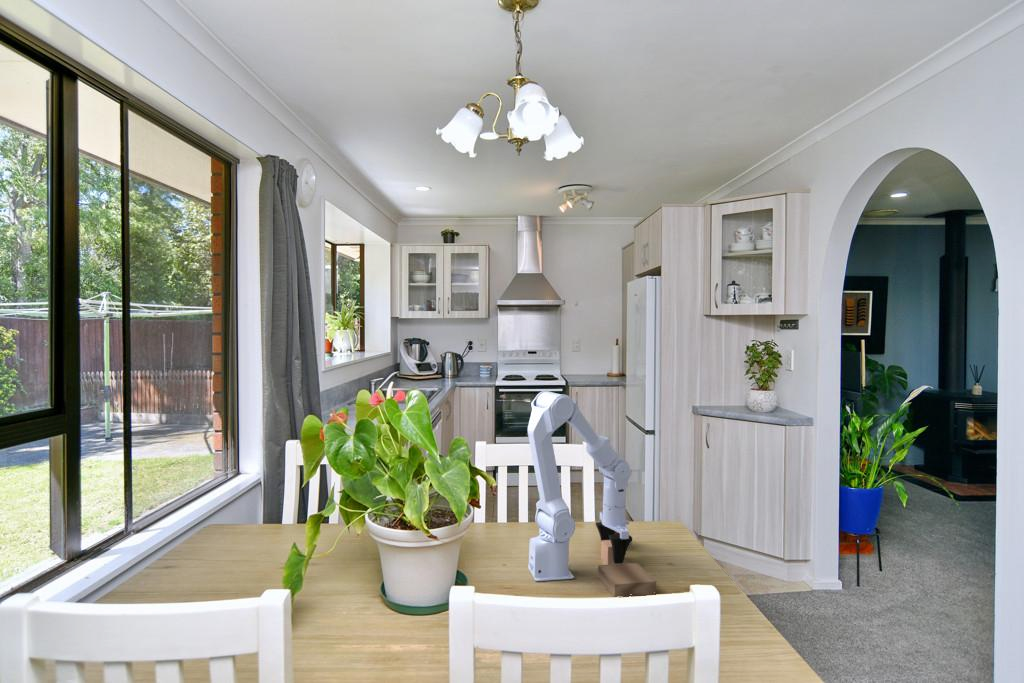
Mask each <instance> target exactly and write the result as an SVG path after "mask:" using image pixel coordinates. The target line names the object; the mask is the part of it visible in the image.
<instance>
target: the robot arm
mask: <svg viewBox="0 0 1024 683" xmlns="http://www.w3.org/2000/svg"><path fill="white" fill-rule="evenodd" d="M530 405H531V406H530V407H531V413H530V417H529V421H528V425H527V436H528V442H529V447H530V452H531V458H532V463H533V468H534V474H535V479H536V485H537V490H538V497H539V500H538V501H537V502H536V503H535V506H536V512H535V514H534V515H535V518H534V520H535V521H534V522H535V524H536V525H537V528H539V531H538V532H539V535H537V536H534V537H530V539H529V546H528V565H527V568H528V571H529V572H530V574H531V575H532V577H533V579H534V581H536V582H543V581H544V582H545V581H559V580H571V579H574V578H575V576H574V575H573V573H572V572H571V570H570V569H569V560H570V558H569V557H570V556H569V554H570V541H571V538H572V537H573V535H574V533H575V531H576V522H575V520H574V518H573V516H571V512H570V508H569V507H568V505H567V503H566V502H565V499H563V495H562V489H561V484H560V483H561V482H560V477H559V471H558V467H557V461H556V456H555V450H554V444H553V438H552V435H553V434H554V432H555V431H556V430H557V429H559V428H560V427H561V426H563V425H564V424H565V423H568V425H570V427H571V428H572V429H573V430H574V431H575V432H576V434H578V436H580V438H581V440H583V441H584V442H585V444H586V445H585V450H586V452H587V453H588V455H589V456H590V457H591V458H592V460H593V461H594V463H595V464H596V465H598V470H599V474H601V475H602V476H603V489H602V490H603V491H602V494H603V495H602V511H599V521H598V522H595V526H596V528H597V530H598V534H599V537H600V542H601V541H602V540H610V541H611V544H612V549H613V559H614V563H615V564H619V563H623V561H624V562H625V557H626V553H627V551H628V548H629V547H630V544H631V543H632V542H633V537H632V536H631V535H630V530H628V526H627V525H630V520H628V519H626V506H627V505H626V502H627V497H626V496H627V487H628V483H629V480H630V478H631V477H632V473H633V471H632V469H631V467H630V464H629V463H628V461H627V460H625V459H622V458H621V456H620V455H621V454H620V452H619V451H617V450H615V448H614V447H613V446H612V445H611V440H610V439H609V437H607V436H604V435H598V434H597V433H596V432H595V430H594V429H593V427H592V426H591V425H590V423H589V421H588V420H587V418H586V417H585V416H584V415H583V412H582V411H581V410H580V407H579V405H578V404H577V403H576V402H575V401H574V400H573V399H572V397H571V396H570V395H567V394H564V393H563V394H560V393H556V392H552V391H550V390H542V391H540V392H538V394H537V395H536V396H535V397H534V399H533V400H532V402H531V403H530ZM615 531H616V532H617V533H616V535H614V533H615Z"/></svg>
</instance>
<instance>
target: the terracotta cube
mask: <svg viewBox="0 0 1024 683" xmlns="http://www.w3.org/2000/svg"><path fill="white" fill-rule="evenodd" d="M600 542H601V548H600V560H601V559H602V560H603V561H602V560H601V561H602V563H604V565H612V564H615V563H614V559H613V549H612V544H611V541H610V540H602V541H601V540H600ZM619 564H625V560H624V561H623V563H619Z"/></svg>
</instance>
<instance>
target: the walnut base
mask: <svg viewBox="0 0 1024 683" xmlns="http://www.w3.org/2000/svg"><path fill="white" fill-rule="evenodd" d="M597 570H598V571H597V578H598V580H599V581H600V582H601V583H602V585H603V586H604V587H605V588H606V589H607V591H608V592H609V593H610V594H611V595H612V597H613V598H614V597H617V596H631V597H641V596H642V595H644V596H653V594H656V595H657V580H655V578H654V577H653V576H652V575H651V574H650V573H649V572H647V570H646V569H644V568H643V567H642V566H641V565H640V564H639V563H638V562H631V563H630V562H629V563H628V562H627V563H624V564H612V565H606V564H599V565H598V568H597ZM654 592H655V593H654ZM630 594H632V595H630Z"/></svg>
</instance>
